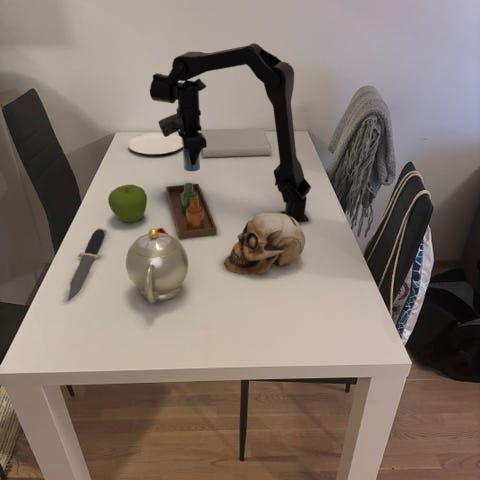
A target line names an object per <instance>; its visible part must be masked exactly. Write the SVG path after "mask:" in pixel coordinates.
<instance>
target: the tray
mask: <svg viewBox="0 0 480 480" xmlns="http://www.w3.org/2000/svg"><path fill="white" fill-rule="evenodd" d="M192 184H193V190H194V191H195V192H196V193H197V194H198V200H199V205H200V207H201V208H203V209H204V227H205V228H204V229H195V230H187V220H186V216H185V215H183V214H182V205H181V193H183V191H184V190H185V188H184V184H180V185H168V186H165V191H166V196H167V200H168V203H169V207H170V210H171V215H172V217H173V221H174V225H175V228H176V232H177V236H178V239H179V240H183V239H192V238H193V239H195V238H199V237H200V238H201V237H210V236H216V235H217V234H218V232H217V231H218V230H217V226H216V223H215V221H214V218H213V216H212V213H211V211H210V209H209V206H208V203H207V201H206V199H205V196H204V193H203V191H202V188H201V186H200V184H199V183H192Z"/></svg>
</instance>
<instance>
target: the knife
mask: <svg viewBox="0 0 480 480" xmlns="http://www.w3.org/2000/svg"><path fill="white" fill-rule="evenodd" d="M107 231H108V230H107V229H106V228H102V227H98V228H97V229H96V230H94V232H93V233H91V236H90V239H89V240H88V243H87V246H86V247H85V250H84V252H80V253H79V254H78V255H77V257H78V258H81V260H80V261H79V263H78V265H77V267H76V269H75V272H74V274H73V275H72V278H71V281H70V284H69V285H70V289H69V294H68V297H67V301H69V300H70V299H72V298H74V296H76V295H77V294H78V293H79V292H80V290H81V288H82V287H83V285H84V282H85V280H86V278H87V275H88V273H89V270H90V268H91V266H92V264H93V261H94V260H98V259H99V258H100V254H97V253H98V251H99V248H100V247H101V244H102V242H103V240H104V237H105V234H106V233H107Z"/></svg>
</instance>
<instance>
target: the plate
mask: <svg viewBox="0 0 480 480" xmlns="http://www.w3.org/2000/svg"><path fill="white" fill-rule="evenodd" d="M127 147H128V148H129V150H131V151H133V152H135V153H137V154H140V155H141V154H142V155H147V156H149V155H151V156H157V155H159V156H161V155H165V154H171V153H175V152H177V151H179V150H181V149H182V148H184V147H183V145H182V138H181V137H180V136H179V135H178V134H175V133H172V134H170V135H169V136H167V137H164V135H163V133H162V132H151V133H144V134H140V135H137V136H134V137H133V138H131V139H130V140H129V141H128V143H127Z"/></svg>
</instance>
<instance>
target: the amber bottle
mask: <svg viewBox="0 0 480 480" xmlns="http://www.w3.org/2000/svg"><path fill="white" fill-rule="evenodd" d="M186 220H187V230H195V229H204V228H205V227H204V209H203V208H201V207H200V205H199V200H198V199H197V198H192V199H190V206H189V208H187V209H186Z"/></svg>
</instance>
